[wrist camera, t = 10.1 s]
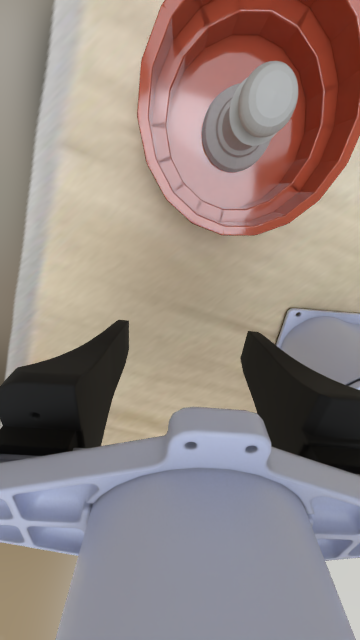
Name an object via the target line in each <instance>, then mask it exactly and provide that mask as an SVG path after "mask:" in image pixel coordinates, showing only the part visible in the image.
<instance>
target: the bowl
mask: <svg viewBox="0 0 360 640" xmlns="http://www.w3.org/2000/svg"><path fill="white" fill-rule="evenodd" d="M269 61H280V62H283V63H285V64H287V65H288V66H289V67H290V68H291V69H292V70H293V72H294V73H295V76H296V79H297V83H298V99H297V104H296V107H295V110H294V112H293V114H292V116H291V118H290V120H289V121H288V122H287V124H286V125H285V126H284V127H283V128H282V129H281V130H279V131H278V132H277V133H276V134H275V135H274V136H273V137H272V138H271V140H270V143H269V145H268V147H267V149H266V150H265V152H264V153H263V154H262V156H261V157H260V158H259V159H258V161H257V162H256V163H254V164H253V165H252V166H251V167H249V168H247V169H245V170H243V171H239V172H227V171H224V170H221V169H219V168H218V167H216V166H215V165H214V164H213V163H212V162H211V161H210V159H209V158H208V156H207V154H206V152H205V149H204V146H203V140H202V128H203V121H204V118H205V115H206V112H207V110H208V108H209V106H210V104H211V103H212V102H213V100H214V99H215V98H216V97H217V96H218V95H219V94H220V93H221V92H223V91H224V90H226V89H227V88H229V87H230V86H233V85H236V84H240V83H242V82H243V81H244V80H245V79H246V78H248V77H249V76H250V74H251V73H252V72H253V71H254V70H255V69H256V68H257V67H258V66H260V65H262V64H263V63H266V62H269ZM137 118H138V123H139V128H140V133H141V138H142V143H143V148H144V153H145V158H146V162H147V165H148V167H149V169H150V171H151V172H152V174H153V176H154V178H155V180H156V182H157V184H158V185H159V187H160V189H161V191H162V193H163V195H164V197H165V198H166V200H167V201H168V202H169V203H171V204H172V205H173V206H174V207H175V208H176V209H177V210H178V211H179V212H180V213H181V214H182V215H184V216H185V217H186V218H187V219H188V220H189V221H190V222H191V223H193V224H195V225H197V226H200V227H203V228H205V229H208V230H210V231H213V232H215V233H218V234H220V235H258V234H261V233H263V232H266V231H269V230H272V229H275V228H277V227H280V226H283V225H286V224H288V223H290V222H291V221H292V220H294V219H295V218H296V217H298V216H299V215H300V214H302V213H303V212H304V211H306V210H307V209H308V208H310V207H311V206H312V205H314V204H315V203H316V202H318V201H319V200H320V199H321V197H322V196H323V195H324V194H325V192H326V191H327V190H328V188H329V187H330V186H331V184H332V183H333V182H334V181H335V179H336V178H337V177H338V175H339V174H340V173H341V171H342V170H343V169H344V168H345V166H346V165H347V163H348V161H349V159H350V157H351V154H352V152H353V150H354V147H355V145H356V143H357V140H358V138H359V136H360V0H165V1H164V2H163V4H162V5H161V7H160V10H159V13H158V16H157V18H156V21H155V24H154V27H153V30H152V32H151V35H150V38H149V41H148V43H147V46H146V49H145V52H144V54H143V57H142V62H141V70H140V83H139V97H138V111H137Z"/></svg>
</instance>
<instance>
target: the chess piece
mask: <svg viewBox="0 0 360 640" xmlns="http://www.w3.org/2000/svg"><path fill="white" fill-rule="evenodd" d="M297 99H298V83H297V79H296V76H295V73H294V72H293V70H292V69H291V68H290V67H289V66H288V65H287V64H285V63H283V62H280V61H269V62H266V63H263V64H262V65H260V66H258V67H257V68H256V69H255V70H254V71H253V72H252V73H251V74H250V76H249V77H248V78H246V79H245V80H244V81H243V82H242V83H240V84H236V85H233V86H230V87H229V88H227V89H226V90H224V91H223V92H221V93H220V94H219V95H218V96H217V97H216V98H215V99H214V100H213V102H212V103H211V104H210V106H209V108H208V110H207V112H206V115H205V118H204V121H203V128H202V140H203V146H204V149H205V152H206V154H207V156H208V158H209V159H210V161H211V162H212V163H213V164H214V165H215V166H216V167H218V168H219V169H221V170H224V171H227V172H239V171H243V170H245V169H247V168H249V167H251V166H252V165H253V164H254V163H256V162H257V161H258V159H259V158H260V157H261V156H262V154H263V153H264V152H265V150H266V149H267V147H268V145H269V143H270V140H271V138H272V137H273V136H274V135H275V134H276V133H277V132H278V131H279V130H281V129H282V128H283V127H284V126H285V125H286V124H287V122H288V121H289V120H290V118H291V116H292V114H293V112H294V110H295V107H296V104H297Z"/></svg>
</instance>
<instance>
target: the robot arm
mask: <svg viewBox="0 0 360 640" xmlns="http://www.w3.org/2000/svg"><path fill="white" fill-rule="evenodd" d="M298 312H299V314H298V315H296V313H298ZM128 350H129V321H125V320H118V321H116V322H115V323H114V324H112V325H111V326H110V327H109V328H107V329H106V330H105V331H103V332H102V333H101V334H99V335H98V336H96V337H95V338H93V339H92V340H90V341H89V342H87V343H86V344H84V345H82V346H80V347H78V348H76V349H74V350H72V351H70V352H67V353H65V354H63V355H60V356H58V357H55V358H52V359H49V360H46V361H43V362H39V363H35V364H31V365H27V366H23V367H18V368H17V369H15V371H14V372H13V373H12V374H11V375H10V376H9V377H8V378H7V379H6V380H5V381H4V383H3V384H2V385H1V386H0V419H1V422H2V425H3V426H2V428H1V429H0V542H3V543H8V544H14V545H20V546H26V547H31V548H37V549H43V550H49V551H54V552H60V553H66V554H71V555H77V556H78V559H77V563H76V567H75V570H74V574H73V577H72V581H71V585H70V589H69V592H68V596H67V599H66V603H65V606H64V610H63V614H62V618H61V621H60V625H59V628H58V632H57V636H56V639H55V640H356V639H355V637H354V634H353V631H352V629H351V626H350V624H349V621H348V619H347V616H346V614H345V611H344V608H343V606H342V603H341V601H340V598H339V596H338V593H337V590H336V588H335V585H334V583H333V580H332V578H331V575H330V572H329V570H328V567H327V565H326V562H325V561H328V560H338V559H348V558H360V314H359V313H347V312H335V311H323V310H311V309H298V308H291V309H289V310H288V312H287V314H286V317H285V320H284V323H283V326H282V329H281V332H280V335H279V338H278V341H277V343H276V345H275V344H273V343H272V342H271V341H270V340H268V339H267V338H266V337H265V336H263V335H262V334H260V333H259V332H253V331H248V333H247V337H246V341H245V344H244V348H243V351H242V355H241V363H242V368H243V373H244V376H245V378H246V381H247V384H248V387H249V390H250V392H251V395H252V398H253V401H254V403H255V407H256V410H257V413H253V412H249V411H246V410H234V409H219V408H205V407H188V408H182V409H180V410H179V411H177V412H175V413H173V415H172V416H171V418H170V420H169V425H168V431H167V434H166V435H165V436H159V437H153V438H147V439H141V440H135V441H129V442H123V443H117V444H111V445H105V446H101V443H102V439H103V434H104V430H105V426H106V422H107V418H108V413H109V410H110V406H111V402H112V398H113V395H114V392H115V390H116V387H117V384H118V382H119V379H120V377H121V374H122V371H123V369H124V366H125V363H126V359H127V355H128Z"/></svg>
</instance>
